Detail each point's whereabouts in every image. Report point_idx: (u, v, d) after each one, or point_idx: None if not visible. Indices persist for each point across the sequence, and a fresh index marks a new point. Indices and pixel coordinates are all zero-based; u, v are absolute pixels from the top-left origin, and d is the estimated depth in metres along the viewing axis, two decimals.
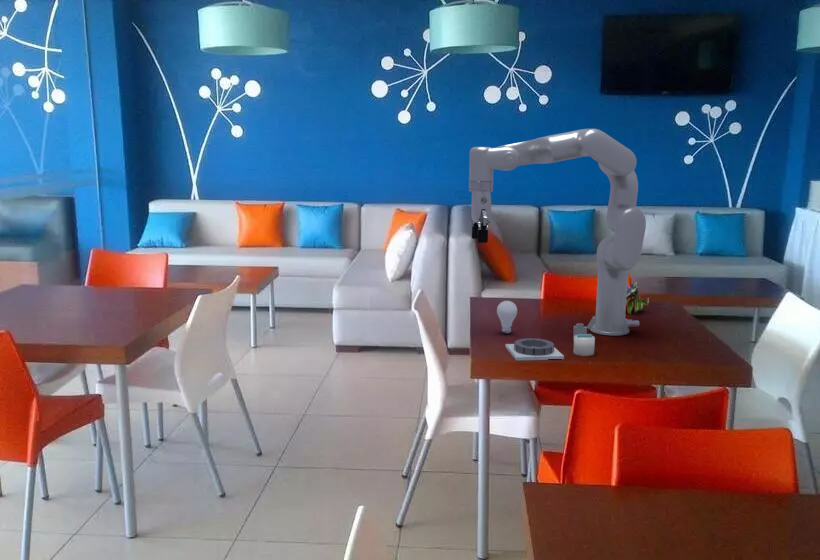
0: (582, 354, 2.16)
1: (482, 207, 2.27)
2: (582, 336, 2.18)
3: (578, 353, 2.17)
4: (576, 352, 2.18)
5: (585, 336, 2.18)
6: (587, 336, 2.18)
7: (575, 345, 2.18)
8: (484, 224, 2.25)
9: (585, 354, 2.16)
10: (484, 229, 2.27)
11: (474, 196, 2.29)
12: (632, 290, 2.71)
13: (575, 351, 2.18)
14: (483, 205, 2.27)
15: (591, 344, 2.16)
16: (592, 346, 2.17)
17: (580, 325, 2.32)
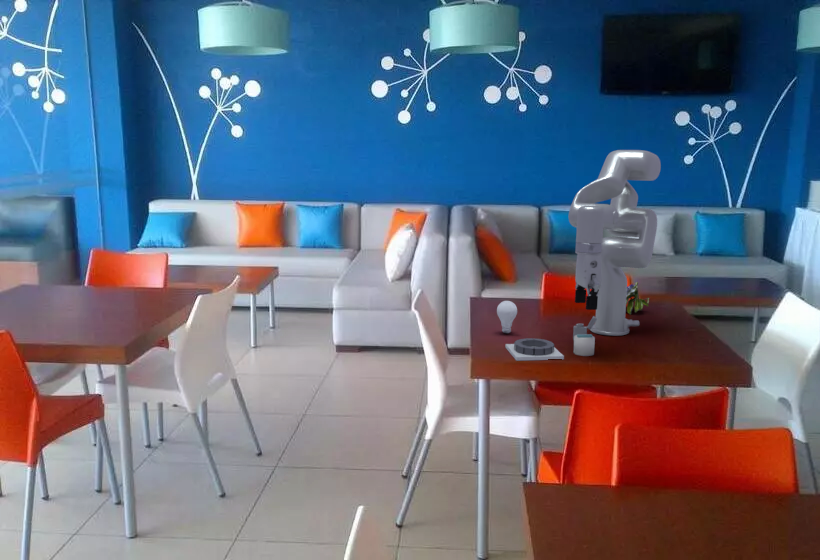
0: (582, 354, 2.16)
1: (592, 271, 2.09)
2: (582, 336, 2.18)
3: (578, 353, 2.17)
4: (576, 352, 2.18)
5: (585, 336, 2.18)
6: (587, 336, 2.18)
7: (575, 345, 2.18)
8: (595, 290, 2.08)
9: (585, 354, 2.16)
10: (594, 295, 2.10)
11: (582, 259, 2.11)
12: (632, 290, 2.71)
13: (575, 351, 2.18)
14: (593, 269, 2.09)
15: (591, 344, 2.16)
16: (592, 346, 2.17)
17: (580, 325, 2.32)
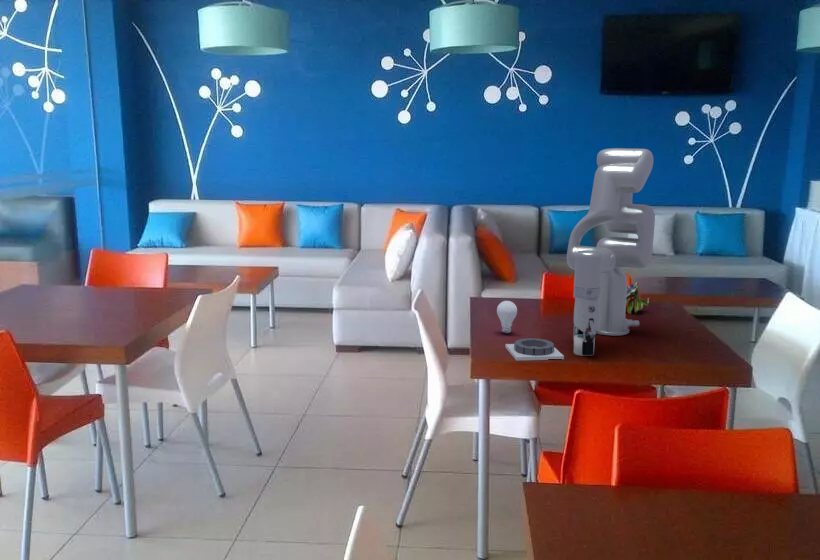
0: (582, 354, 2.16)
1: (590, 316, 2.12)
2: (582, 336, 2.18)
3: (578, 353, 2.17)
4: (576, 352, 2.18)
5: None
6: None
7: (575, 345, 2.18)
8: (591, 338, 2.12)
9: None
10: (590, 342, 2.14)
11: (580, 303, 2.14)
12: (632, 290, 2.71)
13: (575, 351, 2.18)
14: (591, 314, 2.12)
15: None
16: None
17: None
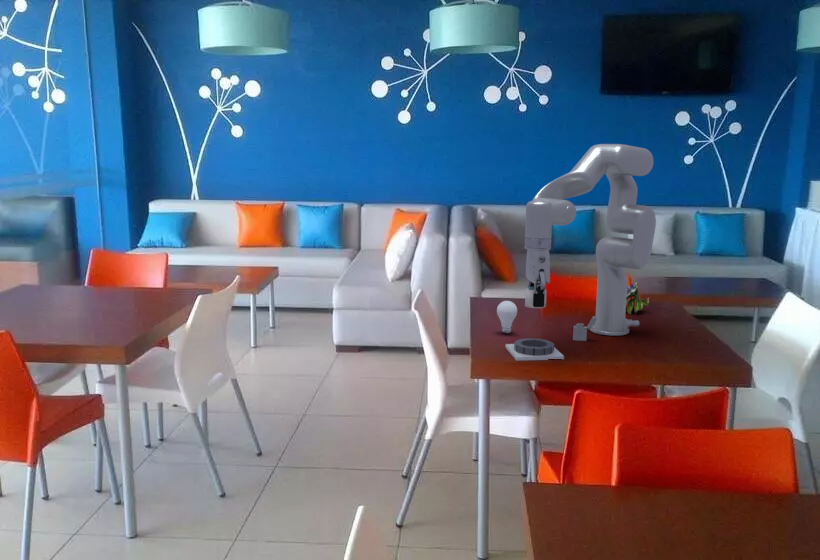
0: None
1: (540, 267, 2.09)
2: (533, 288, 2.15)
3: (529, 305, 2.14)
4: (527, 304, 2.14)
5: None
6: None
7: (526, 297, 2.15)
8: (541, 289, 2.09)
9: None
10: (541, 293, 2.11)
11: (531, 254, 2.11)
12: (632, 290, 2.71)
13: (526, 303, 2.15)
14: (541, 265, 2.09)
15: None
16: None
17: (580, 325, 2.32)
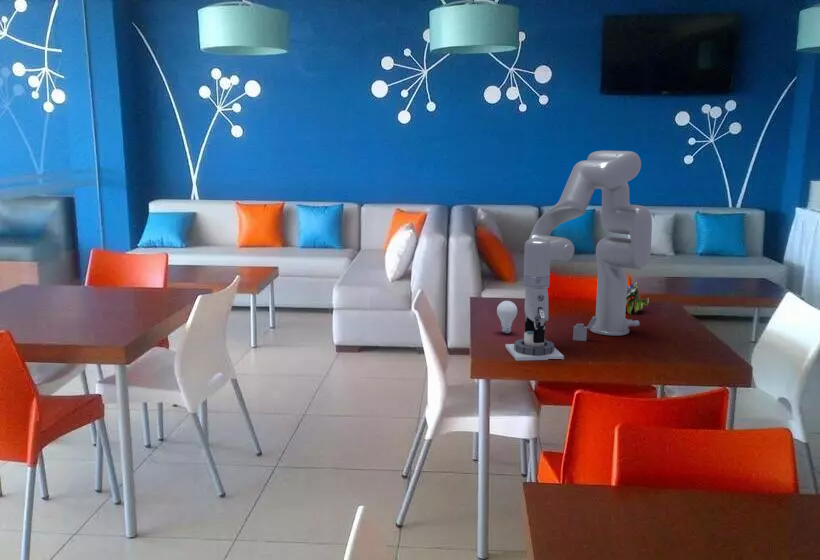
0: None
1: (538, 305, 2.11)
2: (532, 333, 2.17)
3: None
4: None
5: None
6: None
7: (525, 342, 2.17)
8: (541, 324, 2.09)
9: None
10: (541, 329, 2.11)
11: (530, 292, 2.13)
12: (632, 290, 2.71)
13: None
14: (540, 303, 2.11)
15: None
16: (542, 343, 2.16)
17: (580, 325, 2.32)
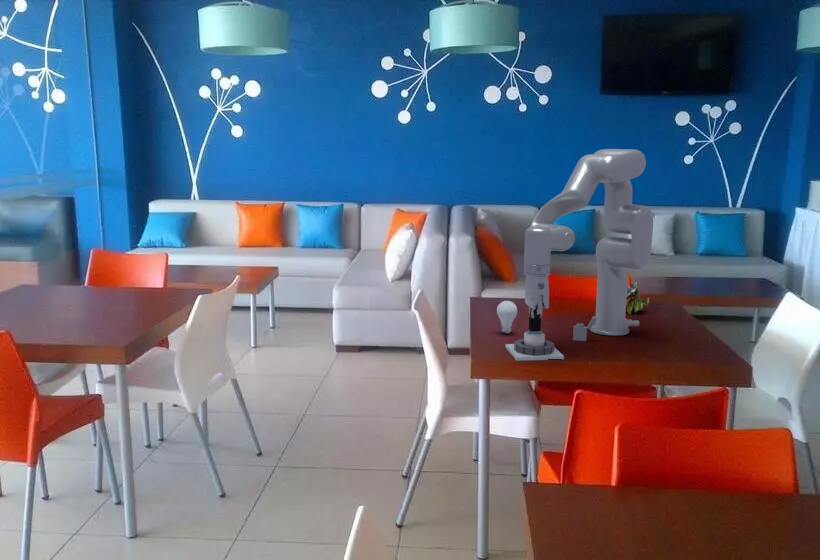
0: None
1: (539, 293, 2.10)
2: (532, 333, 2.17)
3: None
4: None
5: (535, 333, 2.17)
6: (537, 333, 2.17)
7: (525, 342, 2.17)
8: (537, 314, 2.13)
9: None
10: None
11: (530, 280, 2.12)
12: (632, 290, 2.71)
13: None
14: (540, 291, 2.10)
15: (541, 340, 2.15)
16: (542, 343, 2.16)
17: (580, 325, 2.32)
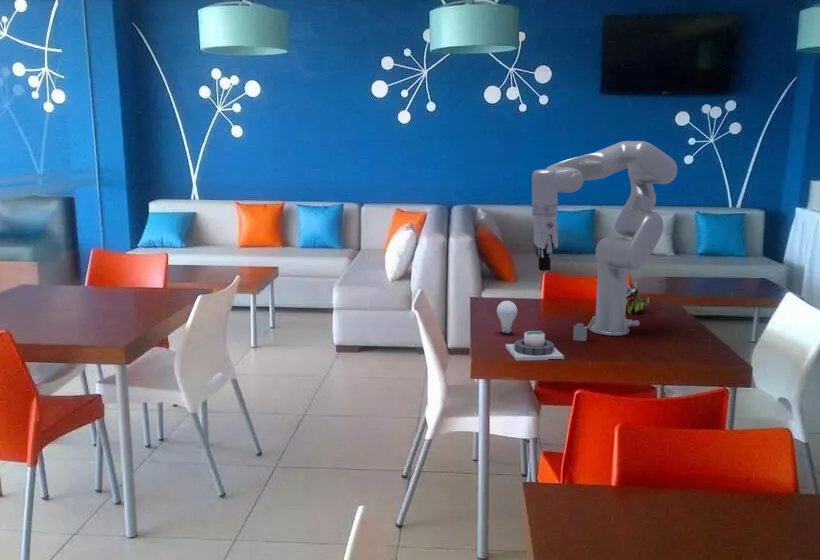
0: None
1: (548, 232, 2.18)
2: (532, 333, 2.17)
3: None
4: None
5: (535, 333, 2.17)
6: (537, 333, 2.17)
7: (525, 342, 2.17)
8: (547, 253, 2.22)
9: None
10: None
11: (539, 221, 2.20)
12: (632, 290, 2.71)
13: None
14: (549, 230, 2.18)
15: (541, 340, 2.15)
16: (542, 343, 2.16)
17: (580, 325, 2.32)
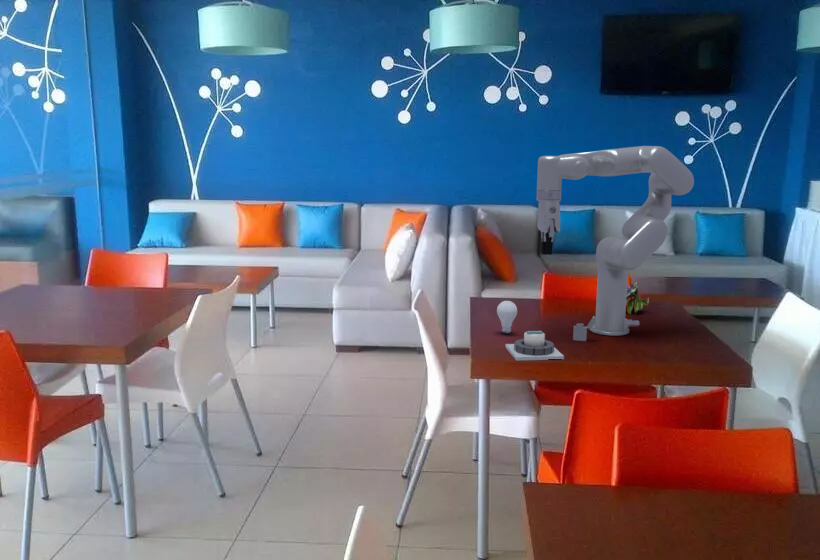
0: None
1: (551, 216, 2.25)
2: (532, 333, 2.17)
3: None
4: None
5: (535, 333, 2.17)
6: (537, 333, 2.17)
7: (525, 342, 2.17)
8: (549, 237, 2.28)
9: None
10: (549, 242, 2.30)
11: (542, 205, 2.27)
12: (632, 290, 2.71)
13: None
14: (552, 215, 2.25)
15: (541, 340, 2.15)
16: (542, 343, 2.16)
17: (580, 325, 2.32)
